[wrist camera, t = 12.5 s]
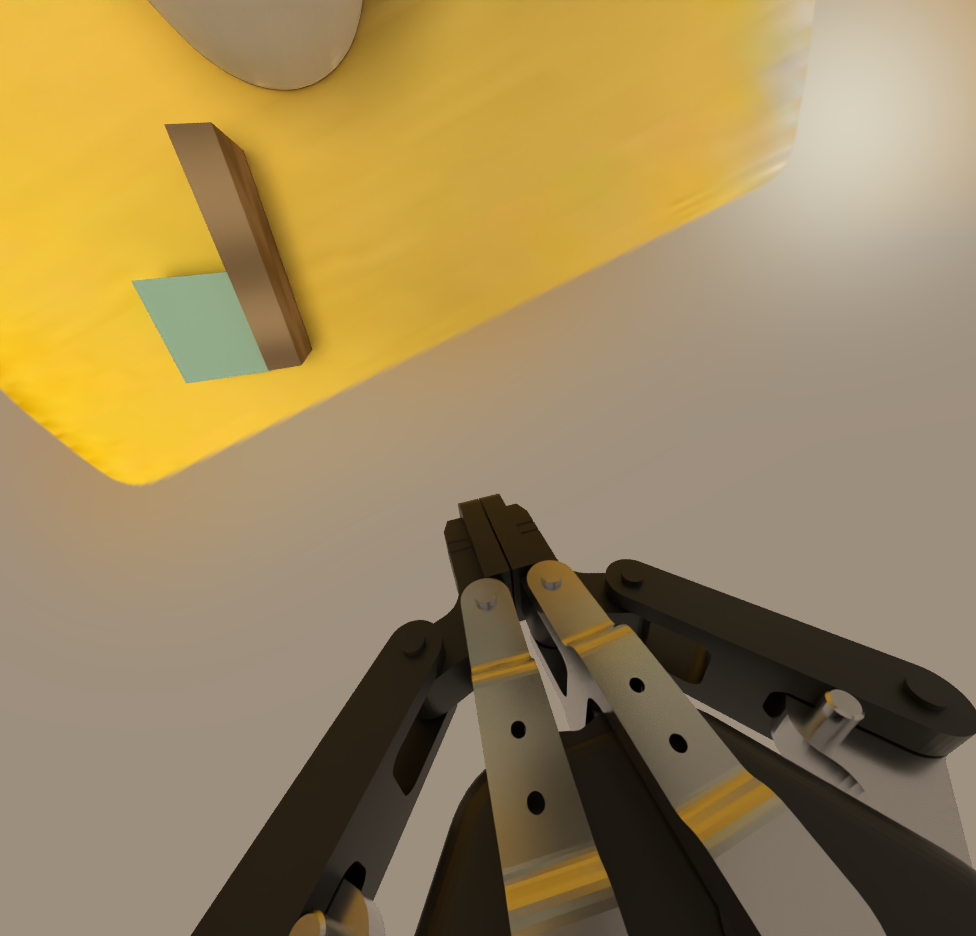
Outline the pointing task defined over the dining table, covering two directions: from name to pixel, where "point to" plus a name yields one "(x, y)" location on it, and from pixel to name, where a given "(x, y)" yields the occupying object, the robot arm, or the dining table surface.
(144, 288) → the teal block
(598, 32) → the dining table surface
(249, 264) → the walnut board
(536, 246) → the dining table surface
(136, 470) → the dining table surface
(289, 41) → the utensil holder
